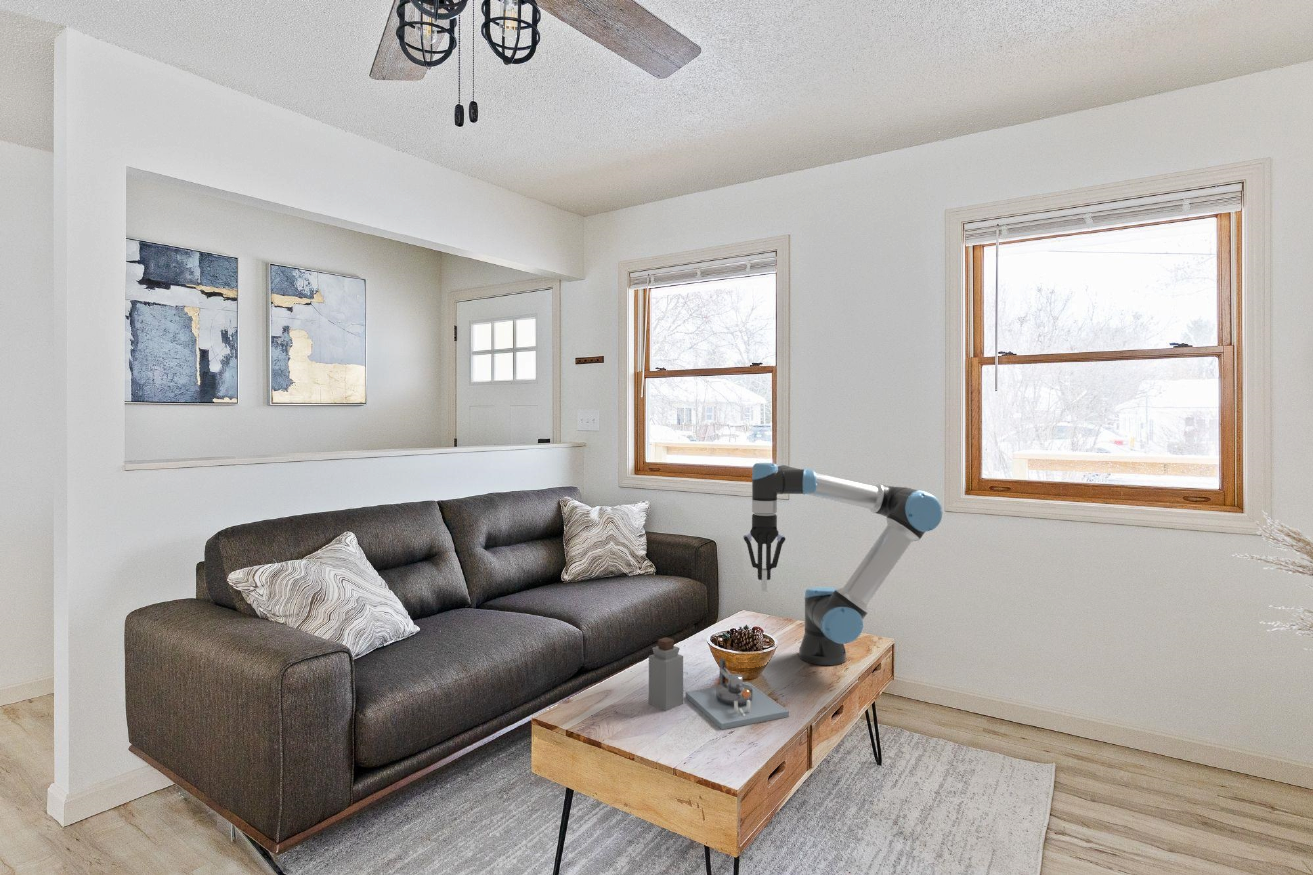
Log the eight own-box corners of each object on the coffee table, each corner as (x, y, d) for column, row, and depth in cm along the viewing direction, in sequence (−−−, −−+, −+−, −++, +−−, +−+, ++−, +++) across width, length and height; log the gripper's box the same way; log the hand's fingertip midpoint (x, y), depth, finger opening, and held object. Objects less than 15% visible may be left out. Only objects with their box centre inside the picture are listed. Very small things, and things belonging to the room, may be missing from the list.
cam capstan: (765, 709, 186) (765, 682, 186) (729, 713, 184) (729, 686, 183) (737, 680, 206) (737, 656, 206) (704, 684, 203) (704, 659, 203)
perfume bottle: (665, 696, 200) (665, 634, 199) (683, 703, 195) (683, 639, 195) (648, 703, 195) (648, 639, 195) (666, 711, 191) (666, 645, 190)
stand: (747, 686, 207) (747, 671, 207) (788, 716, 187) (788, 699, 187) (685, 696, 200) (685, 681, 200) (721, 729, 179) (721, 712, 179)
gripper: (784, 512, 218) (783, 587, 219) (742, 511, 218) (741, 586, 219) (787, 515, 210) (787, 593, 211) (743, 515, 211) (743, 593, 212)
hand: (763, 590), depth 215 cm, fingers closed
